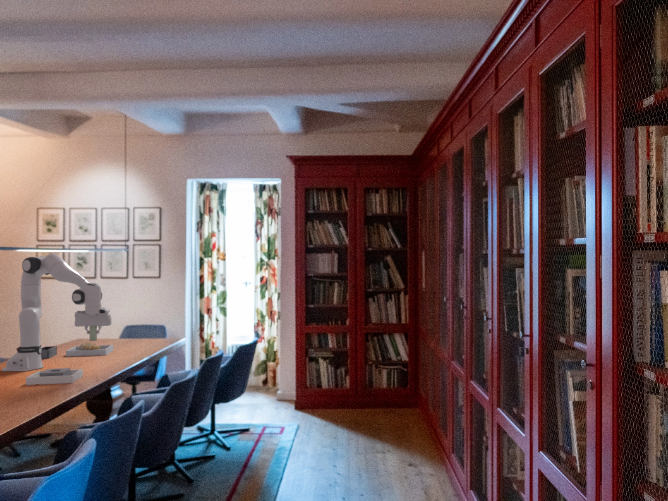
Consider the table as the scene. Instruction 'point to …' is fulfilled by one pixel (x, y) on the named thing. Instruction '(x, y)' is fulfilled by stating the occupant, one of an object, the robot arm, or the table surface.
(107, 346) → the shell tray
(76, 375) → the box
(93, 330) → the peg
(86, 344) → the nautilus
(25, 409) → the table surface
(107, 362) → the table surface
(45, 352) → the dark grey open bin
